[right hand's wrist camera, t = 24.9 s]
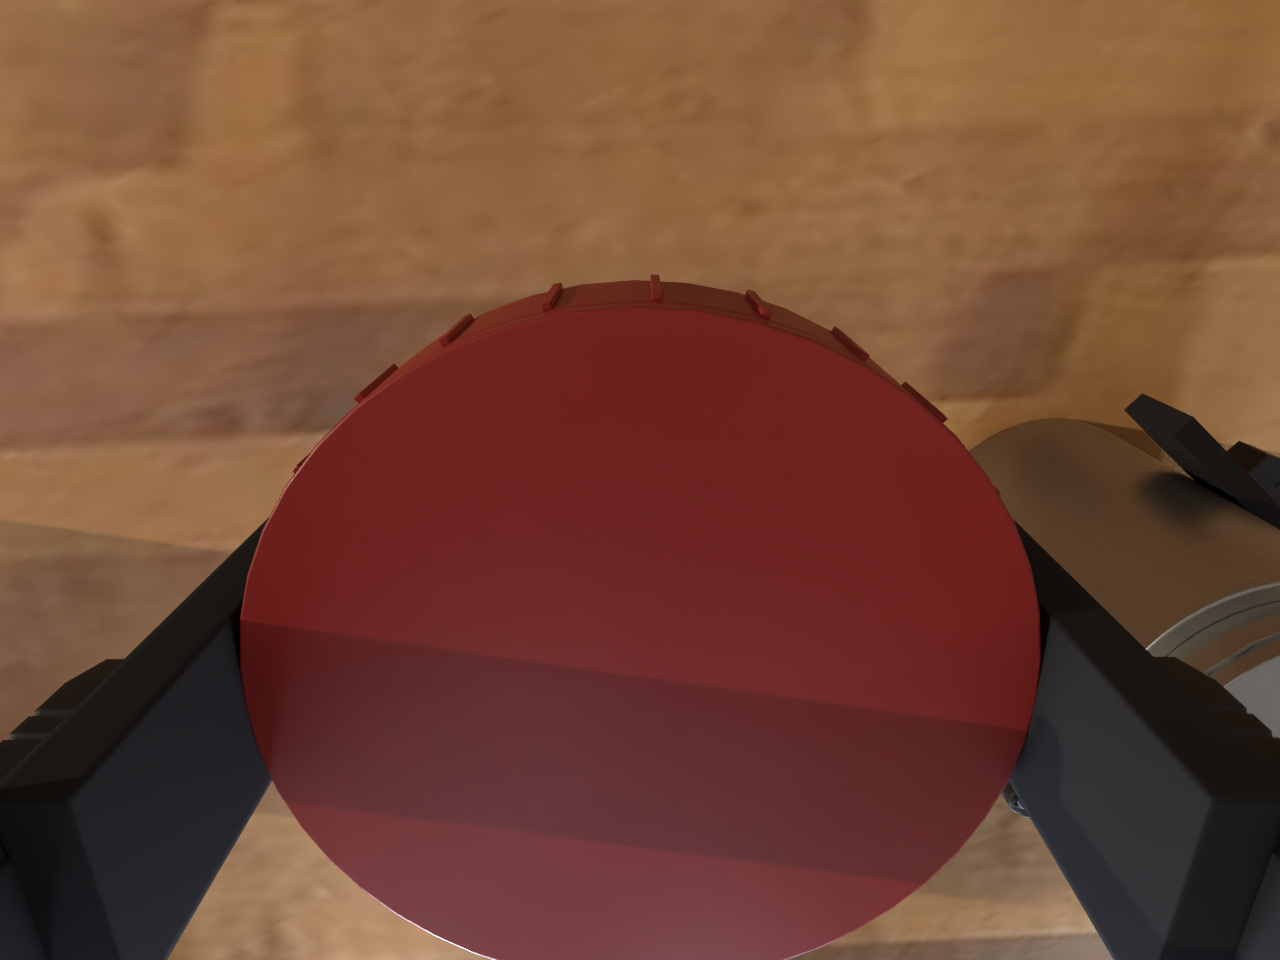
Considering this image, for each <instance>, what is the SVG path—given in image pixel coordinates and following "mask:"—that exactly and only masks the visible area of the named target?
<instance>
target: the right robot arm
mask: <svg viewBox="0 0 1280 960" xmlns="http://www.w3.org/2000/svg"><path fill="white" fill-rule="evenodd" d="M268 519H269V518H268ZM268 519H267V520H266V521H265V522H264V523H263V524H262V525H261V526H260V527H259V528H258V529H257V530H256V531H255V532H254V533H253V534H252V535H251V536H250V537H249V538H248V539H247V540H245V541H244V542H243V543H242V544H241V545H240V546H239V547H238V548H237V549H236V550H235V551H234V552H233V553H232V554H231V555H230V556H229V557H228V558H227V559H226V560H225V561H224V562H223V563H222V564H221V565H220V566H219V567H218V568H217V569H216V570H215V571H214V572H213V573H212V574H211V575H210V576H209V577H208V578H207V579H206V580H205V581H204V582H203V583H202V584H201V585H200V586H199V587H198V588H197V589H196V590H194V591H193V592H192V593H191V594H190V595H189V596H188V597H187V598H186V599H185V600H184V601H183V602H182V603H181V604H180V605H179V606H178V607H177V608H176V609H175V610H174V611H173V612H172V613H171V614H170V615H169V616H168V617H167V618H166V619H165V620H164V621H163V622H162V623H161V624H160V625H159V626H158V627H157V628H156V629H155V630H154V631H153V632H152V633H151V634H150V635H149V636H148V637H147V638H146V639H145V640H143V641H142V642H141V643H140V644H139V645H138V646H137V647H136V648H135V649H134V650H133V651H132V652H131V653H130V654H129V655H128V656H127V657H126V658H125V659H106V660H105V661H103V662H101V663H99V664H98V665H96V666H94V667H92V668H91V669H89V670H87V671H85V672H84V673H82V674H80V675H78V676H77V677H75V678H73V679H71V680H70V681H68V682H66V683H65V684H64V685H63V686H61V687H60V688H59V689H58V690H57V691H56V692H55V693H54V694H53V695H52V696H51V697H50V698H48V699H47V700H46V701H45V702H44V703H43V704H42V705H41V706H40V707H39V708H38V709H36V710H35V715H34V716H29V717H28V718H27V719H26V720H25V721H23V722H22V723H21V724H20V725H19V726H18V727H17V728H16V729H15V730H14V731H13V732H12V733H10V738H9V740H3V741H2V742H1V743H0V960H167V959H168V957H169V955H170V953H171V952H172V950H173V948H174V947H175V945H176V943H177V942H178V940H179V938H180V936H181V935H182V933H183V931H184V930H185V928H186V926H187V924H188V923H189V921H190V919H191V918H192V916H193V914H194V913H195V911H196V909H197V907H198V906H199V904H200V902H201V901H202V899H203V897H204V896H205V894H206V892H207V890H208V889H209V887H210V885H211V884H212V882H213V880H214V878H215V877H216V875H217V873H218V872H219V870H220V868H221V867H222V865H223V863H224V861H225V860H226V858H227V856H228V855H229V853H230V851H231V850H232V848H233V846H234V844H235V843H236V841H237V839H238V838H239V836H240V834H241V832H242V831H243V829H244V827H245V826H246V824H247V822H248V821H249V819H250V817H251V815H252V814H253V812H254V810H255V809H256V807H257V805H258V804H259V802H260V800H261V798H262V797H263V795H264V793H265V792H266V790H267V788H268V786H269V785H270V783H271V781H272V778H271V776H270V774H269V772H268V770H267V767H266V765H265V763H264V761H263V759H262V757H261V755H260V753H259V750H258V747H257V744H256V740H255V737H254V734H253V731H252V727H251V723H250V719H249V715H248V711H247V706H246V701H245V696H244V691H243V686H242V680H241V673H240V617H241V611H242V605H243V599H244V593H245V587H246V580H247V575H248V572H249V569H250V566H251V563H252V560H253V557H254V554H255V551H256V548H257V545H258V542H259V539H260V536H261V533H262V530H263V528H264V526H265V524H266V523H267V521H268ZM1013 520H1014V519H1013ZM1014 522H1015V525H1016V528H1017V530H1018V533H1019V536H1020V538H1021V541H1022V544H1023V546H1024V549H1025V552H1026V554H1027V557H1028V560H1029V562H1030V565H1031V570H1032V575H1033V580H1034V585H1035V590H1036V595H1037V600H1038V605H1039V610H1040V631H1041V666H1040V674H1039V683H1038V688H1037V693H1036V698H1035V703H1034V708H1033V712H1032V716H1031V721H1030V725H1029V729H1028V733H1027V737H1026V740H1025V743H1024V746H1023V748H1022V750H1021V753H1020V755H1019V757H1018V759H1017V762H1016V764H1015V766H1014V768H1013V771H1012V773H1011V775H1010V778H1009V782H1010V784H1011V786H1012V787H1013V789H1014V791H1015V792H1016V794H1017V796H1018V798H1019V799H1020V801H1021V803H1022V804H1023V806H1024V808H1025V809H1026V811H1027V813H1028V815H1029V816H1030V818H1031V820H1032V821H1033V823H1034V825H1035V826H1036V828H1037V830H1038V832H1039V833H1040V835H1041V837H1042V838H1043V840H1044V842H1045V844H1046V845H1047V847H1048V849H1049V850H1050V852H1051V854H1052V855H1053V857H1054V859H1055V861H1056V862H1057V864H1058V866H1059V867H1060V869H1061V871H1062V872H1063V874H1064V876H1065V878H1066V879H1067V881H1068V883H1069V884H1070V886H1071V888H1072V890H1073V891H1074V893H1075V895H1076V896H1077V898H1078V900H1079V901H1080V903H1081V905H1082V907H1083V908H1084V910H1085V912H1086V913H1087V915H1088V917H1089V918H1090V920H1091V922H1092V924H1093V925H1094V927H1095V929H1096V930H1097V932H1098V934H1099V935H1100V937H1101V939H1102V941H1103V942H1104V944H1105V946H1106V947H1107V949H1108V951H1109V953H1110V954H1111V956H1112V958H1113V959H1114V960H1280V738H1279V737H1273V736H1272V731H1271V730H1270V729H1269V728H1268V727H1267V726H1266V725H1265V724H1263V723H1262V722H1261V721H1260V720H1259V719H1258V718H1257V717H1256V716H1255V715H1254V714H1248V713H1247V711H1246V709H1247V708H1246V707H1245V706H1244V705H1243V704H1242V703H1241V702H1239V701H1238V700H1237V699H1236V698H1235V697H1234V696H1233V695H1232V694H1231V693H1230V692H1228V691H1227V690H1226V689H1225V688H1224V687H1223V686H1222V685H1221V684H1220V683H1219V682H1218V681H1216V680H1215V679H1213V678H1211V677H1209V676H1208V675H1206V674H1204V673H1202V672H1201V671H1199V670H1197V669H1195V668H1194V667H1192V666H1190V665H1188V664H1187V663H1185V662H1183V661H1181V660H1179V659H1178V658H1176V657H1153V656H1152V655H1151V654H1150V653H1149V652H1148V651H1147V650H1146V649H1145V648H1144V647H1143V646H1142V645H1141V644H1140V643H1139V642H1138V641H1137V640H1136V639H1135V638H1134V637H1133V636H1132V635H1131V634H1130V633H1129V632H1128V631H1127V630H1126V629H1125V628H1124V627H1123V626H1122V625H1121V624H1120V623H1119V622H1118V621H1117V620H1116V619H1115V618H1114V617H1113V616H1112V615H1111V614H1110V613H1109V612H1107V611H1106V610H1105V609H1104V608H1103V607H1102V606H1101V605H1100V604H1099V603H1098V602H1097V601H1096V600H1095V599H1094V598H1093V597H1092V596H1091V595H1090V594H1089V593H1088V592H1087V591H1086V590H1085V589H1084V588H1083V587H1082V586H1081V585H1080V584H1079V583H1078V582H1077V581H1076V580H1075V579H1074V578H1073V577H1072V576H1071V575H1070V574H1069V573H1068V572H1067V571H1066V570H1065V569H1064V568H1063V567H1062V566H1061V565H1060V564H1059V563H1058V562H1056V561H1055V560H1054V559H1053V558H1052V557H1051V556H1050V555H1049V554H1048V553H1047V552H1046V551H1045V550H1044V549H1043V548H1042V547H1041V546H1040V545H1039V544H1038V543H1037V542H1036V541H1035V540H1034V539H1033V538H1032V537H1031V536H1030V535H1029V534H1028V533H1027V532H1026V531H1025V530H1024V529H1023V528H1022V527H1021V526H1020V525H1019V524H1018V523H1017V522H1016V521H1015V520H1014Z"/></svg>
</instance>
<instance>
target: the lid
mask: <svg viewBox="0 0 1280 960" xmlns="http://www.w3.org/2000/svg"><path fill="white" fill-rule="evenodd" d="M354 399H355V400H356V401H357V402H358V403H359V404H358V405H356V406H355V407H354V408H353V409H352V410H351V411H350V412H349V413H348V414H347V415H346V416H345V417H344V418H343V419H342V420H341V421H340V422H339V423H338V424H337V425H336V426H335V427H334V428H333V429H332V430H331V431H330V432H329V433H328V434H327V435H326V436H325V437H324V438H323V439H322V440H321V441H320V442H319V443H318V444H317V445H316V446H315V447H314V449H313V450H312V451H311V453H310V454H308V455H307V456H306V457H305V458H304V459H303V460H302V461H301V462H300V463H299V464H297V465H296V467H295V468H294V470H293V472H294V473H295V474H294V476H293V477H292V478H291V480H290V481H289V482H288V484H287V485H286V486H285V488H284V490H283V492H282V494H281V496H280V498H279V500H278V502H277V504H276V505H275V507H274V509H273V511H272V513H271V515H270V517H269V519H268V521H267V523H266V524H265V526H264V528H263V530H262V533H261V536H260V539H259V542H258V545H257V548H256V551H255V554H254V557H253V560H252V563H251V566H250V569H249V572H248V575H247V580H246V587H245V593H244V599H243V605H242V611H241V617H240V673H241V680H242V686H243V691H244V696H245V701H246V706H247V711H248V715H249V719H250V723H251V727H252V731H253V734H254V737H255V740H256V744H257V747H258V750H259V753H260V755H261V757H262V759H263V761H264V763H265V765H266V767H267V770H268V772H269V774H270V776H271V778H272V780H273V782H274V784H275V786H276V788H277V790H278V792H279V794H280V795H281V797H282V798H283V800H284V801H285V803H286V804H287V806H288V807H289V809H290V810H291V812H292V813H293V815H294V816H295V818H296V819H297V821H298V822H299V824H300V826H301V827H302V828H303V829H304V831H305V832H306V833H307V834H308V835H309V836H310V837H311V839H312V840H313V841H314V842H315V843H316V844H317V846H318V847H319V848H320V849H321V850H322V851H323V853H324V854H325V855H326V856H327V857H328V858H329V860H331V861H332V862H333V863H334V864H335V865H336V866H337V867H338V868H339V869H340V870H341V871H343V872H344V873H345V874H346V875H347V876H348V877H349V878H350V879H351V880H352V881H353V882H355V883H356V884H357V885H358V886H359V887H360V888H361V889H363V890H364V891H365V892H367V893H368V894H369V895H371V896H372V897H374V898H375V899H376V900H378V901H379V902H380V903H382V904H383V905H385V906H386V907H387V908H389V909H390V910H392V911H393V912H394V913H396V914H397V915H399V916H401V917H403V918H404V919H406V920H408V921H410V922H411V923H413V924H415V925H417V926H418V927H420V928H422V929H424V930H425V931H427V932H429V933H431V934H432V935H434V936H436V937H439V938H441V939H443V940H445V941H448V942H450V943H452V944H455V945H457V946H459V947H461V948H464V949H466V950H468V951H470V952H473V953H475V954H478V955H481V956H484V957H488V958H491V959H494V960H787V959H790V958H793V957H795V956H798V955H801V954H804V953H807V952H810V951H812V950H815V949H818V948H820V947H822V946H824V945H826V944H828V943H830V942H832V941H835V940H837V939H839V938H841V937H843V936H845V935H847V934H850V933H852V932H854V931H856V930H857V929H859V928H861V927H862V926H864V925H866V924H867V923H869V922H871V921H872V920H874V919H876V918H877V917H879V916H881V915H882V914H884V913H886V912H887V911H889V910H891V909H892V908H894V907H895V906H896V905H898V904H899V903H900V902H901V901H903V900H904V899H905V898H907V897H908V896H909V895H911V894H912V893H913V892H915V891H916V890H917V889H918V888H920V887H921V886H922V885H924V884H925V883H926V882H927V881H928V880H930V879H931V878H932V877H933V876H934V875H935V874H936V873H937V872H938V871H939V870H940V869H941V868H942V867H943V866H944V865H945V864H946V863H947V862H948V861H949V860H950V859H951V858H952V857H953V856H954V855H955V854H957V853H958V851H959V850H960V849H961V848H962V846H963V845H964V844H965V843H966V842H967V840H968V839H969V838H970V837H971V835H972V834H973V833H974V832H975V830H976V829H977V828H978V827H979V826H980V824H981V823H982V822H983V821H984V819H985V818H986V816H987V815H988V813H989V811H990V810H991V808H992V806H993V805H994V803H995V802H996V800H997V798H998V797H999V795H1000V794H1001V792H1002V790H1003V789H1004V787H1005V785H1006V784H1007V782H1008V780H1009V778H1010V775H1011V773H1012V771H1013V768H1014V766H1015V764H1016V762H1017V759H1018V757H1019V755H1020V753H1021V750H1022V748H1023V746H1024V743H1025V740H1026V737H1027V733H1028V729H1029V725H1030V721H1031V716H1032V712H1033V708H1034V703H1035V698H1036V693H1037V688H1038V683H1039V674H1040V666H1041V631H1040V610H1039V605H1038V600H1037V595H1036V590H1035V585H1034V580H1033V575H1032V570H1031V565H1030V562H1029V560H1028V557H1027V554H1026V552H1025V549H1024V546H1023V544H1022V541H1021V538H1020V536H1019V533H1018V530H1017V528H1016V525H1015V522H1014V520H1013V518H1012V516H1011V515H1010V513H1009V511H1008V509H1007V508H1006V506H1005V504H1004V502H1003V501H1002V499H1001V497H1000V495H1001V494H1000V492H999V490H998V489H997V488H996V487H995V486H994V485H993V483H992V481H991V480H990V478H989V476H988V475H987V474H986V472H985V471H984V470H983V469H982V467H981V466H980V465H979V464H978V462H977V461H976V460H975V459H974V457H973V456H972V455H971V454H970V452H969V451H968V450H967V449H966V447H965V446H964V445H963V444H962V442H961V441H960V440H959V439H958V437H957V436H956V435H955V434H954V433H953V432H952V431H951V430H949V429H948V428H947V427H946V426H945V425H944V424H943V423H944V422H945V421H946V420H947V417H946V416H945V415H944V414H943V413H942V412H940V411H939V410H938V409H937V408H936V407H935V406H933V405H932V404H931V403H930V402H929V401H928V400H926V399H925V398H924V397H923V396H922V395H921V394H919V393H918V392H917V391H916V390H915V389H914V388H912V387H911V386H910V385H909V384H908V383H907V382H904V383H903V384H902V385H900V384H899V383H898V382H897V381H895V380H894V379H893V378H892V377H891V376H890V375H889V374H888V373H886V372H885V371H884V370H883V369H882V368H881V367H880V366H879V365H877V364H876V363H875V362H874V361H873V360H872V359H871V358H869V354H868V353H866V352H865V351H864V350H863V349H862V348H861V347H860V346H858V345H857V344H856V343H855V342H854V341H853V340H852V339H850V338H849V337H848V336H847V335H846V334H845V333H844V332H842V331H841V330H840V329H838V328H837V327H834V328H833V329H832V331H830V330H828V329H826V328H824V327H822V326H820V325H818V324H816V323H814V322H812V321H810V320H808V319H806V318H804V317H802V316H799V315H797V314H795V313H793V312H791V311H789V310H787V309H785V308H782V307H779V306H776V305H773V304H770V303H767V302H764V301H762V300H761V298H760V297H759V296H758V295H757V294H756V292H755V291H751V290H747V292H746V295H743V294H740V293H737V292H732V291H726V290H721V289H716V288H711V287H705V286H700V285H695V284H689V283H677V282H660V278H659V275H651V279H650V281H639V280H632V281H620V282H607V283H595V284H583V285H578V286H574V287H569V288H565V289H563V287H562V283H557V284H553V286H552V287H551V289H550V290H549V292H546V293H542V294H537V295H533V296H530V297H527V298H524V299H522V300H519V301H516V302H513V303H511V304H508V305H505V306H502V307H500V308H497V309H494V310H492V311H489V312H486V313H484V314H482V315H480V316H478V317H476V318H474V319H473V317H472V315H471V314H468V315H466V316H464V317H463V318H462V319H461V320H460V321H459V322H457V323H456V324H455V325H454V326H453V327H452V328H451V329H450V330H449V331H448V332H447V333H446V334H444V335H443V336H441V337H439V338H438V339H437V340H435V341H434V342H433V343H431V344H430V345H429V346H427V347H426V348H424V349H423V350H422V351H420V352H419V353H418V354H416V355H415V356H413V357H412V358H411V359H409V360H408V361H407V362H405V363H404V364H403V365H401V366H400V367H399V368H398V367H397V366H396V365H395V364H393V365H392V366H391V367H389V368H388V369H387V370H386V371H385V372H384V373H382V374H381V375H380V376H379V377H378V378H376V379H375V380H374V381H373V382H372V383H371V384H369V385H368V386H367V387H366V388H365V389H364V390H362V391H361V392H360V393H359V394H358V395H357V396H356V397H354Z"/></svg>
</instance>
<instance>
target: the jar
mask: <svg viewBox="0 0 1280 960" xmlns="http://www.w3.org/2000/svg"><path fill="white" fill-rule="evenodd" d="M970 454H971V455H972V456H973V457H974V459H975V460H976V461H977V462H978V464H979V465H980V466H981V467H982V469H983V470H984V471H985V472H986V474H987V475H988V476H989V478H990V480H991V481H992V483H993V485H994V486H995V487H996V488H997V489H998V490H999V492H1000V494H1001V495H1000V497H1001V499H1002V501H1003V502H1004V504H1005V506H1006V508H1007V509H1008V511H1009V513H1010V515H1011V516H1012V518H1013V519H1014V520H1015V521H1016V522H1017V523H1018V524H1019V525H1020V526H1021V527H1022V528H1023V529H1024V530H1025V531H1026V532H1027V533H1028V534H1029V535H1030V536H1031V537H1032V538H1033V539H1034V540H1035V541H1036V542H1037V543H1038V544H1039V545H1040V546H1041V547H1042V548H1043V549H1044V550H1045V551H1046V552H1047V553H1048V554H1049V555H1050V556H1051V557H1052V558H1053V559H1054V560H1055V561H1056V562H1058V563H1059V564H1060V565H1061V566H1062V567H1063V568H1064V569H1065V570H1066V571H1067V572H1068V573H1069V574H1070V575H1071V576H1072V577H1073V578H1074V579H1075V580H1076V581H1077V582H1078V583H1079V584H1080V585H1081V586H1082V587H1083V588H1084V589H1085V590H1086V591H1087V592H1088V593H1089V594H1090V595H1091V596H1092V597H1093V598H1094V599H1095V600H1096V601H1097V602H1098V603H1099V604H1100V605H1101V606H1102V607H1103V608H1104V609H1105V610H1106V611H1107V612H1109V613H1110V614H1111V615H1112V616H1113V617H1114V618H1115V619H1116V620H1117V621H1118V622H1119V623H1120V624H1121V625H1122V626H1123V627H1124V628H1125V629H1126V630H1127V631H1128V632H1129V633H1130V634H1131V635H1132V636H1133V637H1134V638H1135V639H1136V640H1137V641H1138V642H1139V643H1140V644H1141V645H1142V646H1143V647H1144V648H1145V649H1146V650H1147V651H1148V652H1149V653H1150V654H1151V655H1152V656H1153V657H1176V658H1178V659H1179V660H1181V661H1183V662H1185V663H1187V664H1188V665H1190V666H1192V667H1194V668H1195V669H1197V670H1199V671H1201V672H1202V673H1204V674H1206V675H1208V676H1209V677H1211V678H1213V679H1215V680H1216V681H1218V682H1219V683H1220V684H1221V685H1222V686H1223V687H1224V688H1225V689H1226V690H1227V691H1228V692H1230V693H1231V694H1232V695H1233V696H1234V697H1235V698H1236V699H1237V700H1238V701H1239V702H1241V703H1242V704H1243V705H1244V706H1245V707H1246V708H1247V709H1246V711H1247V713H1248V714H1254V715H1255V716H1256V717H1257V718H1258V719H1259V720H1260V721H1261V722H1262V723H1263V724H1265V725H1266V726H1267V727H1268V728H1269V729H1270V730H1271V731H1272V736H1273V737H1279V738H1280V530H1279V529H1278V528H1276V527H1274V526H1272V525H1271V524H1269V523H1267V522H1265V521H1264V520H1262V519H1260V518H1258V517H1257V516H1255V515H1253V514H1251V513H1250V512H1248V511H1246V510H1245V509H1243V508H1241V507H1239V506H1238V505H1236V504H1234V503H1232V502H1231V501H1229V500H1227V499H1225V498H1224V497H1222V496H1220V495H1218V494H1217V493H1215V492H1213V491H1211V490H1210V489H1208V488H1206V487H1204V486H1203V485H1201V484H1199V483H1197V482H1196V481H1194V480H1192V479H1191V478H1189V477H1187V476H1185V475H1184V474H1182V473H1180V472H1178V471H1177V470H1175V469H1173V468H1171V467H1170V466H1168V465H1166V464H1164V463H1163V462H1161V461H1159V460H1157V459H1156V458H1154V457H1152V456H1150V455H1149V454H1147V453H1145V452H1143V451H1142V450H1140V449H1138V448H1137V447H1135V446H1133V445H1131V444H1130V443H1128V442H1126V441H1124V440H1123V439H1121V438H1119V437H1117V436H1116V435H1114V434H1112V433H1110V432H1109V431H1107V430H1105V429H1103V428H1101V427H1098V426H1096V425H1093V424H1090V423H1086V422H1082V421H1078V420H1069V419H1046V420H1038V421H1032V422H1028V423H1024V424H1021V425H1017V426H1015V427H1012V428H1009V429H1007V430H1004V431H1002V432H1000V433H998V434H996V435H994V436H992V437H991V438H989V439H987V440H986V441H984V442H983V443H981V444H980V445H978V446H977V447H976V448H974V449H973V450H972V451H971V452H970Z"/></svg>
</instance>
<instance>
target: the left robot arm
mask: <svg viewBox="0 0 1280 960" xmlns="http://www.w3.org/2000/svg"><path fill="white" fill-rule="evenodd" d="M1125 411H1126V412H1127V413H1128V414H1129V415H1130V416H1131V417H1132V418H1133V419H1134V420H1135V421H1136V422H1137V423H1138V424H1139V425H1140V426H1141V427H1142V428H1143V429H1144V430H1145V431H1146V432H1147V433H1148V434H1149V435H1150V436H1151V437H1152V438H1153V439H1154V440H1155V441H1156V442H1157V443H1158V444H1159V445H1160V446H1161V447H1162V448H1163V449H1164V451H1165V452H1166V453H1167V454H1168V455H1169V456H1170V457H1171V458H1172V459H1173V460H1174V461H1175V462H1176V463H1177V464H1178V465H1179V466H1180V467H1181V468H1182V469H1183V470H1184V471H1185V472H1186V473H1187V474H1188V475H1189V476H1190V477H1191V478H1192V479H1193V480H1194V481H1196V482H1197V483H1199V484H1201V485H1203V486H1204V487H1206V488H1208V489H1210V490H1211V491H1213V492H1215V493H1217V494H1218V495H1220V496H1222V497H1224V498H1225V499H1227V500H1229V501H1231V502H1232V503H1234V504H1236V505H1238V506H1239V507H1241V508H1243V509H1245V510H1246V511H1248V512H1250V513H1251V514H1253V515H1255V516H1257V517H1258V518H1260V519H1262V520H1264V521H1265V522H1267V523H1269V524H1271V525H1272V526H1274V527H1276V528H1278V529H1279V530H1280V458H1278V457H1276V456H1274V455H1271V454H1269V453H1267V452H1265V451H1263V450H1261V449H1258V448H1256V447H1254V446H1252V445H1249V444H1246V443H1243V442H1240V441H1238V442H1237V443H1236V444H1235V445H1234V446H1232V447H1231V448H1230V449H1229V450H1228V451H1227V452H1226V451H1225V449H1224V448H1223V447H1222V446H1221V445H1220V444H1219V443H1218V442H1217V441H1216V440H1215V439H1214V438H1213V437H1212V436H1211V435H1210V434H1209V433H1208V432H1207V431H1206V430H1205V429H1204V428H1203V427H1202V426H1201V425H1200V424H1199V423H1198V421H1197V420H1196V419H1195V418H1194V417H1192V416H1190V415H1188V414H1186V413H1183V412H1181V411H1179V410H1177V409H1175V408H1172V407H1170V406H1168V405H1166V404H1164V403H1162V402H1159V401H1157V400H1155V399H1153V398H1151V397H1149V396H1146V395H1144V394H1141V395H1140V396H1139V397H1138V398H1137V399H1136V400H1135V401H1134V402H1132V403H1131V404H1130V405H1129V406H1128V407H1127V408H1126V409H1125ZM1001 793H1002V795H1003V797H1004V798H1005V800H1006V802H1007V803H1008V805H1009V807H1010V809H1011V810H1012V811H1014V812H1015V813H1018V814H1020V815H1022V816H1025V817H1027V818H1030V816H1029V815H1028V813H1027V811H1026V809H1025V808H1024V806H1023V804H1022V803H1021V801H1020V799H1019V798H1018V796H1017V794H1016V792H1015V791H1014V789H1013V787H1012V786H1011V784H1010V782H1009V780H1008V782H1007V784H1006V785H1005V787H1004V789H1003V790H1002V792H1001ZM1030 819H1031V818H1030Z"/></svg>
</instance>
